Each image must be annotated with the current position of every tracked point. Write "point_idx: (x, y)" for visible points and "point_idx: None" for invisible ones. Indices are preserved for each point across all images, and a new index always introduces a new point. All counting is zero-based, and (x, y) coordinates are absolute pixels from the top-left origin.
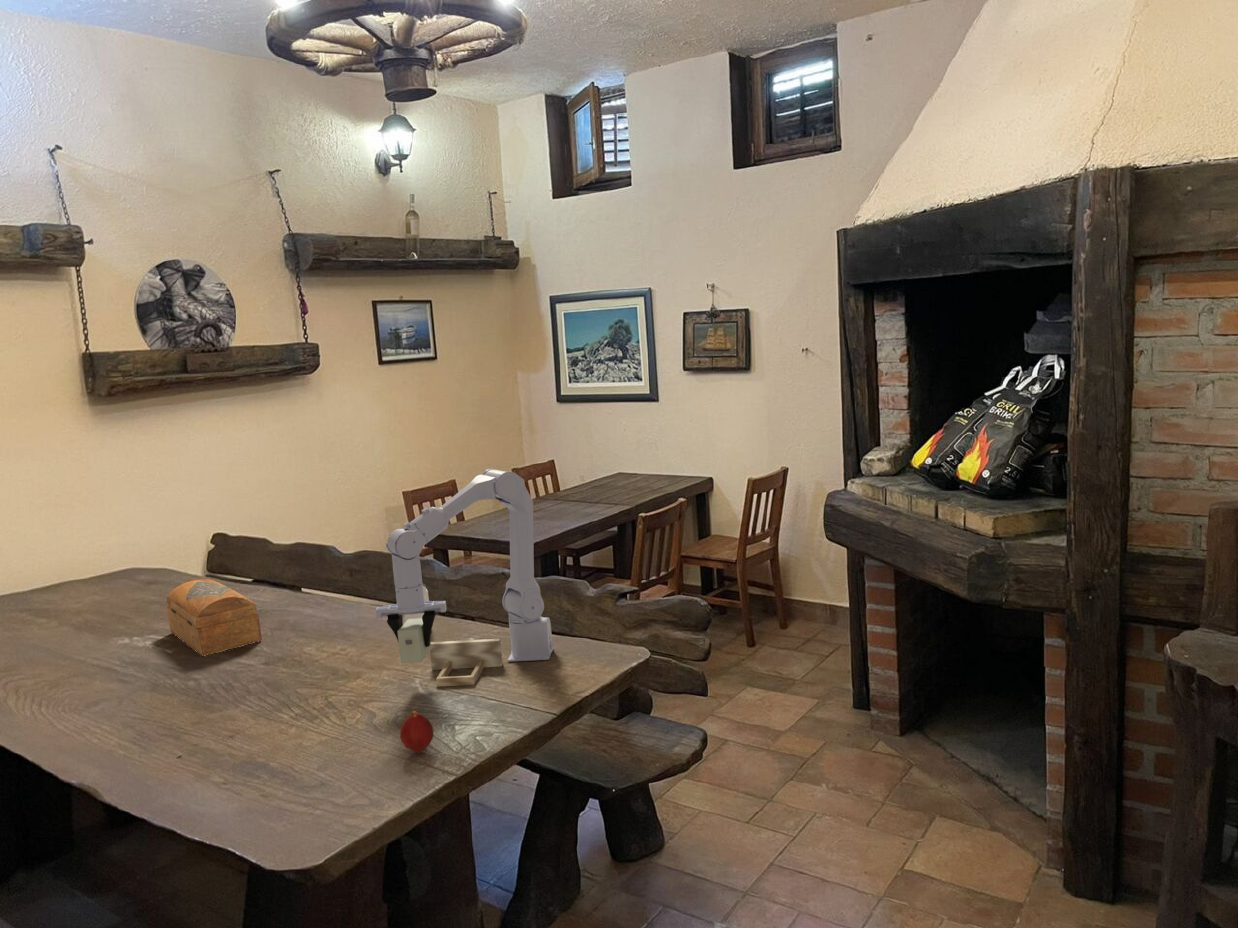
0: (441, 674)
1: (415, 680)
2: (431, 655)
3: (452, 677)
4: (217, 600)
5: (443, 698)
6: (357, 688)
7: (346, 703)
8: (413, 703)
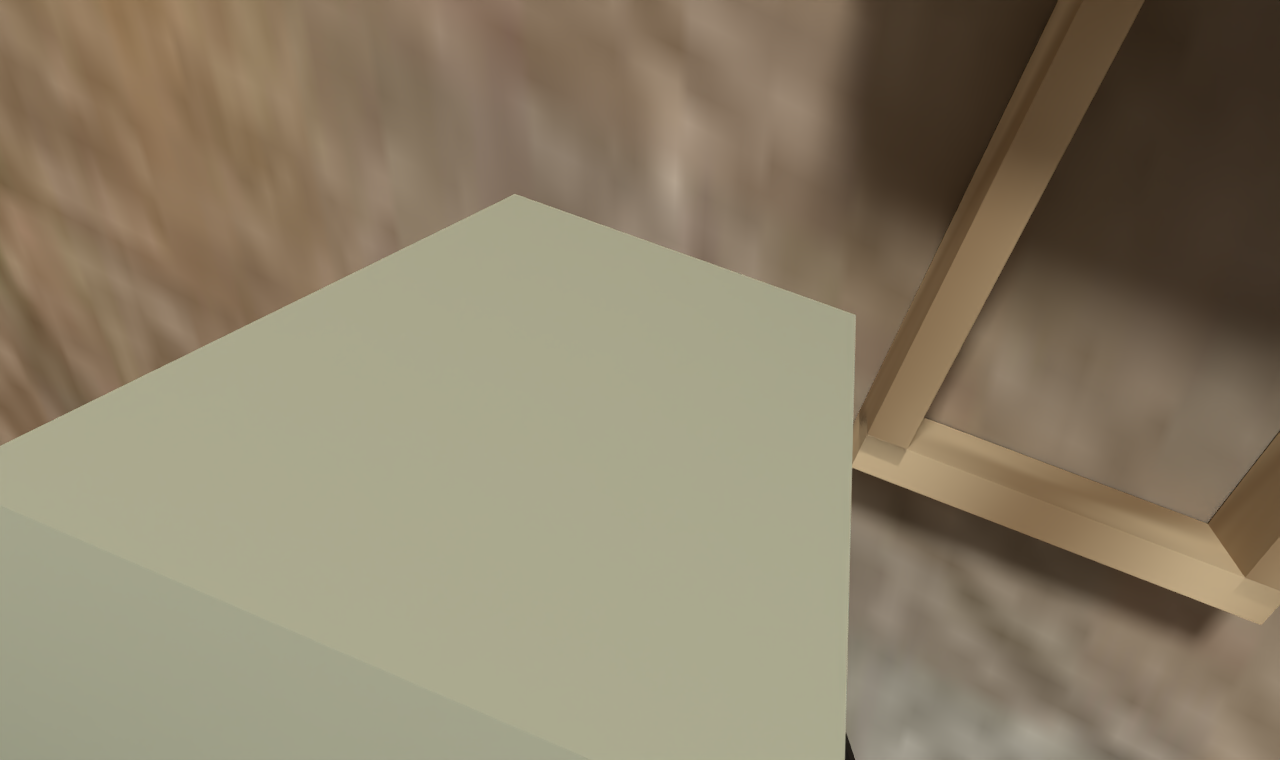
0: (929, 377)
1: (653, 146)
2: None
3: (1028, 525)
4: None
5: (865, 689)
6: (140, 109)
7: None
8: None
